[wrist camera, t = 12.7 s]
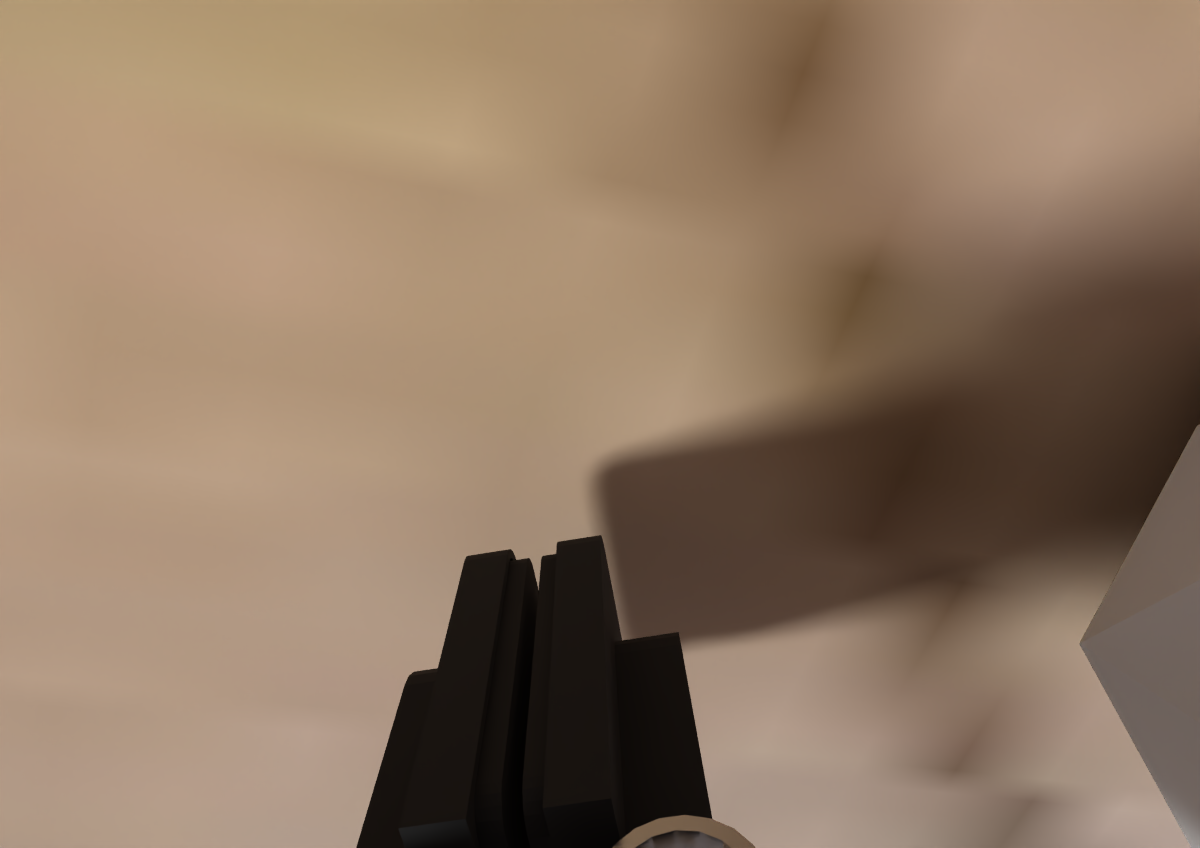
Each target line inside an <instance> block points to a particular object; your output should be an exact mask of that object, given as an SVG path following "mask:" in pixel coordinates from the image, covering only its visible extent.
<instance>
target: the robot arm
mask: <svg viewBox="0 0 1200 848" xmlns="http://www.w3.org/2000/svg"><path fill="white" fill-rule="evenodd" d="M357 848H755V846H754V845H753V844H752V843H751V842H749V841H748V840H747V839H746V838H745V837H743V836H742V835H741V834H740V833H739V832H737V831H736V830H735V829H734V828H732V827H729V826H727V825H725V824H722V823H720V822H718V821H715V820H713V819H712V815H711V809H710V804H709V798H708V792H707V787H706V781H705V776H704V770H703V765H702V759H701V753H700V748H699V742H698V737H697V731H696V726H695V720H694V715H693V709H692V703H691V698H690V692H689V687H688V681H687V676H686V670H685V664H684V659H683V653H682V648H681V642H680V637H679V632H677V633H670V634H663V635H657V636H650V637H643V638H637V639H630V640H623V641H622V638H621V633H620V627H619V622H618V617H617V611H616V606H615V601H614V596H613V590H612V585H611V580H610V575H609V569H608V564H607V559H606V554H605V549H604V544H603V540H602V537H601V535H599V536H593V537H586V538H580V539H573V540H567V541H561V542H557V551H556V554H553V555H546V556H542V559H541V570H540V581H539V591H538V586H537V582H536V578H535V573H534V569H533V565H532V562H531V560H530V559H529V558H527V559H521V560H516V558H515V555H514V553H513V551H512V550H511V549H509V550H503V551H496V552H490V553H484V554H477V555H471V556H467V557H466V559H465V561H464V565H463V569H462V573H461V577H460V581H459V585H458V589H457V594H456V598H455V602H454V606H453V610H452V614H451V618H450V622H449V626H448V630H447V634H446V638H445V642H444V646H443V650H442V654H441V658H440V662H439V666H438V668H437V669H430V670H424V671H417V672H413V673H412V674H411V675H409V677H408V679H407V681H406V683H405V686H404V689H403V693H402V696H401V699H400V703H399V706H398V709H397V713H396V716H395V720H394V723H393V726H392V730H391V733H390V736H389V740H388V743H387V747H386V750H385V753H384V757H383V760H382V763H381V767H380V770H379V773H378V777H377V780H376V784H375V787H374V790H373V794H372V797H371V800H370V804H369V807H368V810H367V814H366V817H365V821H364V824H363V827H362V831H361V834H360V837H359V841H358V844H357Z"/></svg>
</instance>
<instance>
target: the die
mask: <svg viewBox="0 0 1200 848" xmlns="http://www.w3.org/2000/svg"><path fill="white" fill-rule="evenodd" d="M1079 644H1080V646H1081V647H1082V649H1083V651H1084V653H1085V655H1086V657H1087V658H1088V660H1089V662H1090V664H1091V666H1092V668H1093V669H1094V671H1095V673H1096V675H1097V677H1098V678H1099V680H1100V682H1101V684H1102V686H1103V688H1104V689H1105V691H1106V693H1107V695H1108V697H1109V699H1110V700H1111V702H1112V704H1113V706H1114V708H1115V709H1116V711H1117V713H1118V715H1119V717H1120V719H1121V720H1122V722H1123V724H1124V726H1125V728H1126V730H1127V731H1128V733H1129V735H1130V737H1131V739H1132V740H1133V742H1134V744H1135V746H1136V748H1137V750H1138V751H1139V753H1140V755H1141V757H1142V759H1143V761H1144V762H1145V764H1146V766H1147V768H1148V770H1149V771H1150V773H1151V775H1152V777H1153V779H1154V781H1155V782H1156V784H1157V786H1158V788H1159V790H1160V792H1161V793H1162V795H1163V797H1164V799H1165V801H1166V802H1167V804H1168V806H1169V808H1170V810H1171V812H1172V813H1173V815H1174V817H1175V819H1176V821H1177V823H1178V824H1179V826H1180V828H1181V830H1182V832H1183V833H1184V835H1185V837H1186V839H1187V841H1188V843H1189V844H1190V846H1191V848H1200V424H1199V425H1197V426H1196V428H1195V430H1194V432H1193V434H1192V436H1191V438H1190V439H1189V441H1188V443H1187V445H1186V447H1185V449H1184V451H1183V452H1182V454H1181V456H1180V458H1179V460H1178V462H1177V463H1176V465H1175V467H1174V469H1173V471H1172V473H1171V475H1170V476H1169V478H1168V480H1167V482H1166V484H1165V486H1164V488H1163V489H1162V491H1161V493H1160V495H1159V497H1158V499H1157V501H1156V502H1155V504H1154V506H1153V508H1152V510H1151V512H1150V514H1149V515H1148V517H1147V519H1146V521H1145V523H1144V525H1143V527H1142V528H1141V530H1140V532H1139V534H1138V536H1137V538H1136V539H1135V541H1134V543H1133V545H1132V547H1131V549H1130V551H1129V552H1128V554H1127V556H1126V558H1125V560H1124V562H1123V564H1122V565H1121V567H1120V569H1119V571H1118V573H1117V575H1116V577H1115V578H1114V580H1113V582H1112V584H1111V586H1110V588H1109V590H1108V591H1107V593H1106V595H1105V597H1104V599H1103V601H1102V603H1101V604H1100V606H1099V608H1098V610H1097V612H1096V614H1095V615H1094V617H1093V619H1092V621H1091V623H1090V625H1089V627H1088V628H1087V630H1086V632H1085V634H1084V636H1083V638H1082V640H1081V641H1080V643H1079Z"/></svg>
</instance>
